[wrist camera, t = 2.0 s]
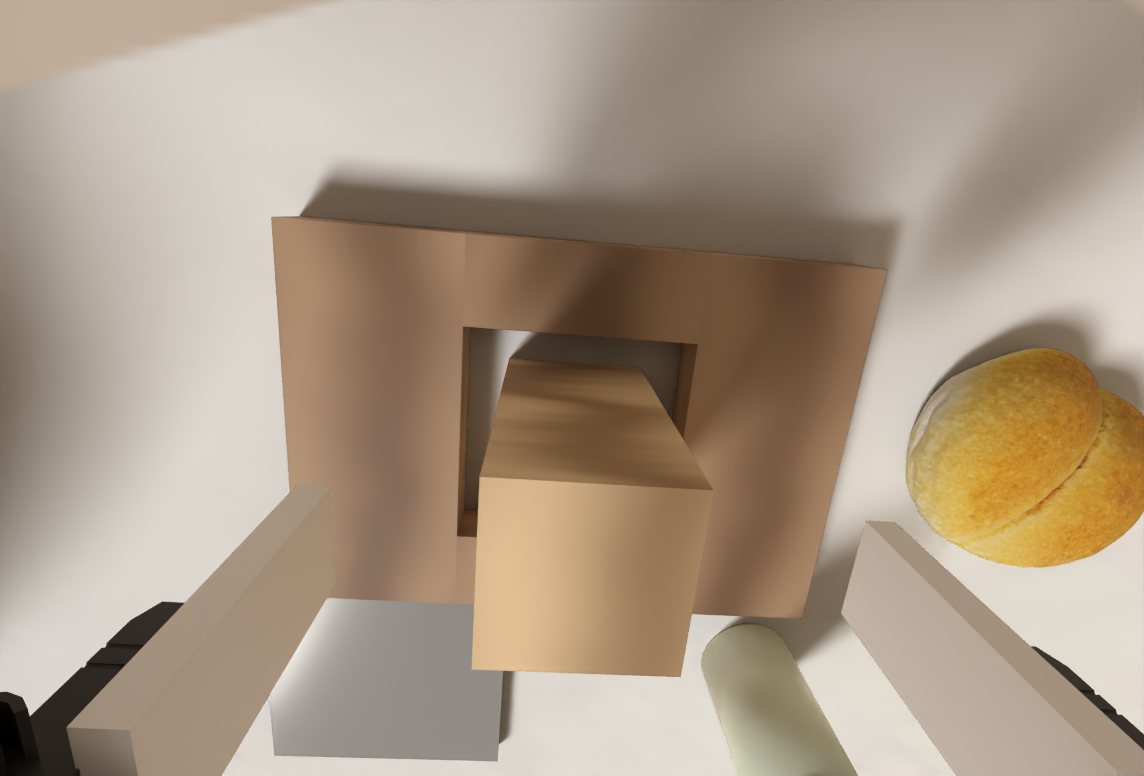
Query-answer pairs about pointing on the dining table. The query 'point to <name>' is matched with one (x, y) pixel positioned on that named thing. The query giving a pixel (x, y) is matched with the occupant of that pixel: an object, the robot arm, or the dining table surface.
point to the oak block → (586, 526)
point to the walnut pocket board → (576, 307)
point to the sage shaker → (768, 707)
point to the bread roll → (1028, 461)
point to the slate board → (387, 685)
